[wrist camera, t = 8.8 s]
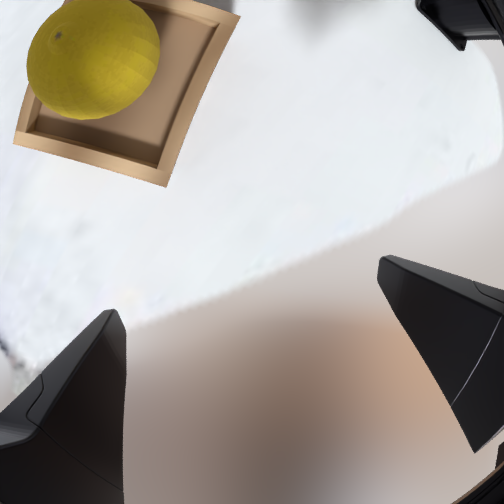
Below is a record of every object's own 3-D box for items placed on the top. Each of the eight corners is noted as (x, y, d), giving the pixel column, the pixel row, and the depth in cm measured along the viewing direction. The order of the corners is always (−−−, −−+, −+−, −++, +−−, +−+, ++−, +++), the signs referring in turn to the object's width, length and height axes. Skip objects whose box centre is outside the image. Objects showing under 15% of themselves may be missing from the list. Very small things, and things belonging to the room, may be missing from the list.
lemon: (102, 19, 10) (47, -40, 3) (185, 46, 12) (182, -17, 5) (58, 104, 12) (-28, 101, 5) (137, 134, 14) (90, 144, 7)
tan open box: (230, 35, 15) (240, 16, 11) (171, 172, 18) (166, 187, 15) (95, 3, 11) (75, -18, 8) (43, 136, 15) (12, 143, 11)
